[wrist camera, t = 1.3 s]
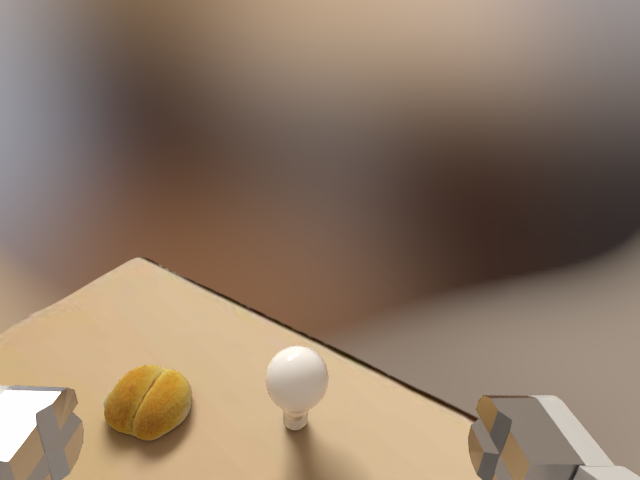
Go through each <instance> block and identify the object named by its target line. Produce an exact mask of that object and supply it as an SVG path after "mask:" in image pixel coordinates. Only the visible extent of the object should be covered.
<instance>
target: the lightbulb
mask: <svg viewBox="0 0 640 480" xmlns="http://www.w3.org/2000/svg"><path fill="white" fill-rule="evenodd" d="M328 380H329V376H328V370H327V367H326V364H325V362H324V360H323V359H322V357H321V356H320V355H319V354H318V353H317V352H315V351H314V350H312V349H310V348H308V347H305V346H291V347H287V348H285V349H283V350H281V351H280V352H278V353H277V354H276V355H275V356H274V357H273V359H272V360H271V362H270V364H269V366H268V368H267V372H266V388H267V391H268V394H269V396H270V398H271V399H272V400H273V402H274V403H275V404H276V405H277V406H279V407H280V408H282V410H283V421H284V424H285V426H286V427H287V428H289V429H291V430H299V429H302V428H303V427H304V426H305V425H306V423H307V417H308V411H309V410H310V409H311V408H313V407H315V406H316V405H317V404H318V403H319V402H320V401H321V400H322V398H323V397H324V395H325V393H326V390H327V387H328Z"/></svg>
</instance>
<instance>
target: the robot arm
mask: <svg viewBox="0 0 640 480" xmlns="http://www.w3.org/2000/svg"><path fill="white" fill-rule="evenodd" d="M77 404H78V401H77V397H76V394H75V390H73V389H70V388H64V387H41V386H17V385H15V386H4V385H0V480H62V479H63V478H64V477H66V476H67V475H68V474H70V472H71V471H72V469H73V467H74V465H75V463H76V461H77V460H78V457H79V454H80V451H81V447H82V444H83V435H84V429H83V423H82V420H81V419H80V418H79V417H78V416H76V415H75V414H74V413H73V412H72V411H73V410H74V408H75V407H76V405H77ZM476 410H477V412H478V414H479V416H480V418H479V419H478V420H477V421H476V422H474V423H473V424H472V425H471V428H470V432H469V436H468V445H469V454H470V458H471V462H472V464H473V467H474V469H475V471H476V474H477V475H478V476H479V477H480V478H481V479H482V480H640V477H639V476H637V475H636V474H634V473H632V472H631V471H630V470H628V469H626V468H625V467H623V466H615V465H614V464H613V463H612V462H611V461H610V459H609V458H608V457H607V456H606V454H605V453H604V452H603V451H602V450H601V448H600V447H599V446H598V445H597V443H596V442H595V441H594V440H593V438H592V437H591V436H590V435H589V433H588V432H587V431H586V430H585V429H584V427H583V426H582V425H581V424H580V422H579V421H578V420H577V419H576V418H575V416H574V415H573V414H572V413H571V411H570V410H569V409H568V408H567V406H566V405H565V404H564V403H563V401H562V400H560V399H559V398H557V397H556V396H541V395H540V396H539V395H537V396H536V395H535V396H534V395H531V396H522V395H521V396H519V395H518V396H517V395H483V396H482V397H481V398H480V399H479V401H478V404H477V407H476Z"/></svg>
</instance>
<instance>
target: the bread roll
mask: <svg viewBox="0 0 640 480" xmlns="http://www.w3.org/2000/svg"><path fill="white" fill-rule="evenodd" d="M191 394H192V391H191V386H190V384H189V382H188V380H187V379H186V378H185V377H184V376H183V374H182V373H180V372H178V371H176V370H171V369H165V368H162V367H159V366H155V365H144V366H141V367H138V368H135V369H133V370H131V371H130V372H128V373H127V374H126V375H125V376H123V378H122V379H120V380H119V382H118V383H117V384H116V385H115V386H114V387H113V389H112V390H111V391H110V392H109V394H108V395H107V397H106V399H105V401H104V408H105V410H104V415H105V420H106V422H107V423H108V424H109V425H110V426H111V427H112V428H113V429H114V430H116V431H118V432H122V433H125V434H130V435H132V436H135V437H137V438H139V439H142V440H147V441H151V440H155V439H157V438H159V437H161V436H163V435H164V434H166V433H168V432H169V431H171V430H172V429H174V428H175V427H177V426H178V425H179V424H181V423H182V422H183V421H184V419H185V418H186V416H187V415H188V413H189V411H190V408H191V401H192V400H191V399H192V396H191Z"/></svg>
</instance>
